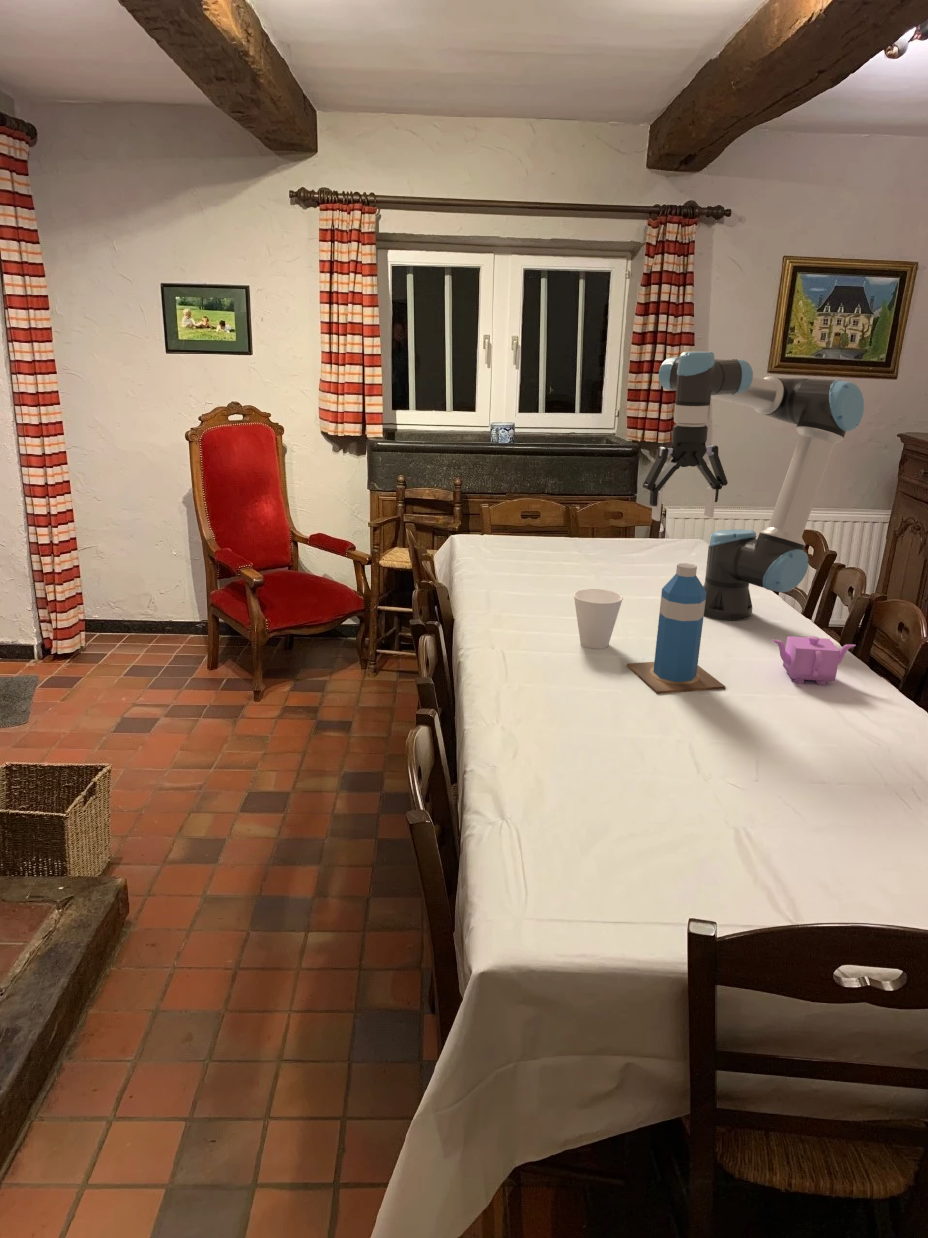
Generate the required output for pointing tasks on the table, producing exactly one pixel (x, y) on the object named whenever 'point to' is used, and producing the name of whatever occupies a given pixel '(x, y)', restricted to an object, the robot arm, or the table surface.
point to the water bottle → (680, 626)
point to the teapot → (811, 658)
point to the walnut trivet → (665, 686)
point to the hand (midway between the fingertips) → (682, 518)
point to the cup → (596, 616)
